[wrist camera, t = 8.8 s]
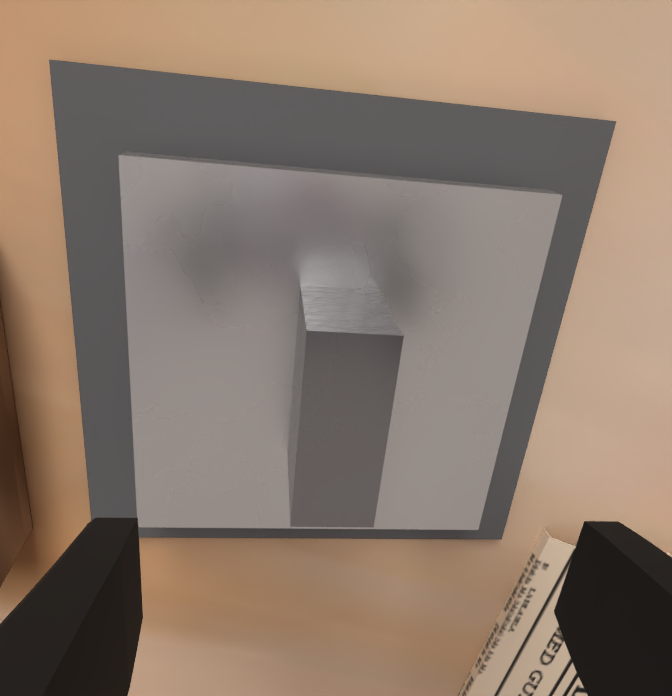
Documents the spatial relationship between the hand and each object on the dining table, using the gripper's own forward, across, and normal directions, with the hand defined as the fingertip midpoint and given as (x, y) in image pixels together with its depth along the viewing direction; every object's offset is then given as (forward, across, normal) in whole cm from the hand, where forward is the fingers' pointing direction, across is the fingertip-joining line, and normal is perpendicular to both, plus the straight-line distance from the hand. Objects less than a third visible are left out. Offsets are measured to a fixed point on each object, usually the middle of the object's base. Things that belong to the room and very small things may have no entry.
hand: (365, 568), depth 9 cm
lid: (+8, 0, 0) cm, 8 cm away
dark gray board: (+9, 0, 0) cm, 9 cm away
